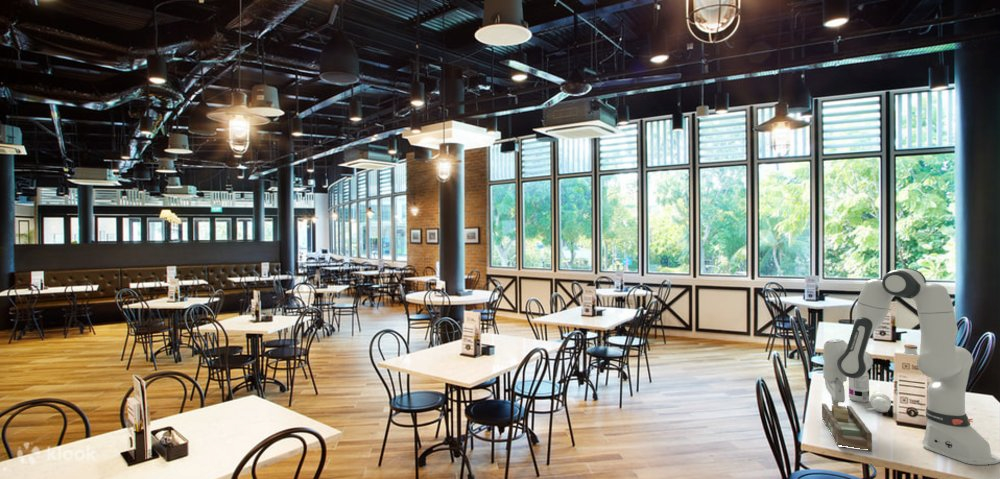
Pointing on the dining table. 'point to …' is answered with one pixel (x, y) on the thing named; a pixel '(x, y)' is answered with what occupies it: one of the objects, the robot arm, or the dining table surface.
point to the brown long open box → (848, 429)
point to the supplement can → (859, 388)
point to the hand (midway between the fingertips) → (835, 405)
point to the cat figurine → (880, 402)
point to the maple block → (840, 412)
